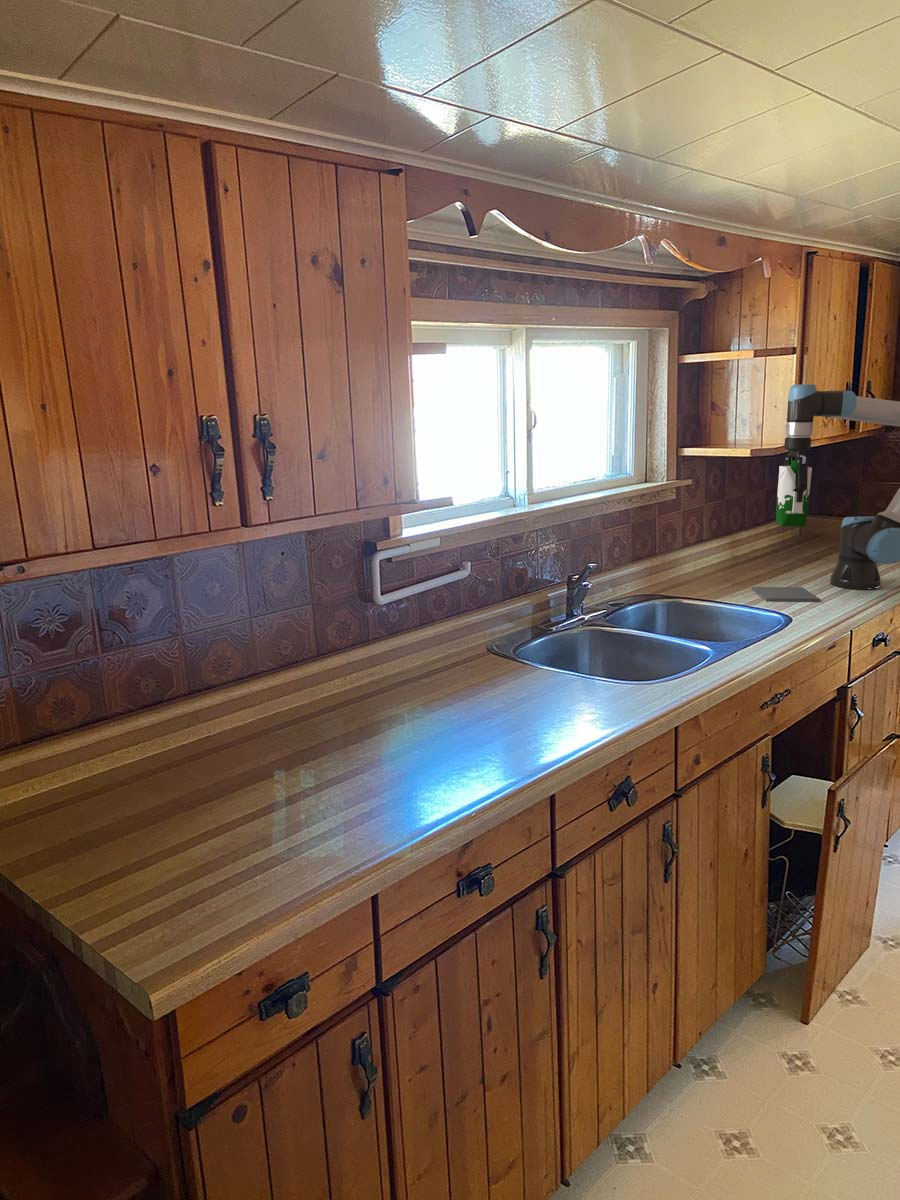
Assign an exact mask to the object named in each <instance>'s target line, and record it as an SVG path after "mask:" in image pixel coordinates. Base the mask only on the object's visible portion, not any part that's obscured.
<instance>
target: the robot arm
mask: <svg viewBox="0 0 900 1200" xmlns="http://www.w3.org/2000/svg"><path fill="white" fill-rule="evenodd" d="M786 412H787V414H786V423H785V425H784V426H783V428H784V429H785V436H787V437H785V438H784V445H783V449H784V450H785V451H789V452H788V453H785V455H784V465H783V466H791V460H792V461H798V475H797V474H796V478H795V489H794V490H793V491H794V497H793V508H792V513H802V508H803V497H804V491H805V490H807V478H808V467H809V466H808V465H809V456H806V455H805V451H809V450H811V448H812V438H811V436H812V435H813V431H814V430H813V429H814V417H821V418H832V419H840V420H847V421H854V422H861V423H862V422H863V423H868V424H869V423H870V424H876V425H877V424H878V425H883V426H884V425H885V426H894V427H900V401H899V400H898V401H897V400H891V399H890V400H889V399H880V398H873V397H865V396H857V395H856V394H855V392H854V391H852V390H844V389H843V390H818V389H817V385H816V384H815V383H814V384H811V383H810V384H809V383H808V384H806V383H805V384H792V385H791V386H790V388H789V391H788V397H787V411H786ZM839 537H840V538H839V549H838V559H837V563H836V565H835V567H834V569H833V571H832V573H831V575H830V582H829V584H830V585H832V586H833V587H834V586H835V587H838V588H842V589H843V588H844V589H849V588H850V590H862V589H868V588H875V587H878V586H880V587H881V576H880V571H879V567H878V564H883V565H892V564H896V563H898V562H900V487H899V488H898V490H897V491H896V493H895V495H894V496H893V498H892V500H891V501H890V503H889V504H888V506H887V507H886V509H885V510H884V511H881V512H878V513H877V514H876V515H875V516H846V517H844V518H843V520H842V522H841V526H840V536H839ZM868 590H869V589H868Z"/></svg>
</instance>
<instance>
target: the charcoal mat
mask: <svg viewBox="0 0 900 1200" xmlns="http://www.w3.org/2000/svg"><path fill="white" fill-rule="evenodd" d="M751 591H753V592H754V593H755V592H756V593H757V594H756V593H755V594H756V595H758V596H759V597H760V596H761V597H762V598H761V597H760V598H761V599H763V600H764V601H765V600H766V601H765V602H768V601H771V602H772V603H773V602H779V603H780V602H781V603H782V602H784V603H785V602H789V603H794V602H795V603H796V602H800V603H803V602H804V603H805V602H806V603H807V602H809V603H819V602H820V600H821V599H820V598H819V597H818V596H816V595H815V594H813V593H812V592H810V591H808V590H807V589H805V588H804V587H803V586H751ZM771 602H770V603H771Z"/></svg>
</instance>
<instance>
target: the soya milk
mask: <svg viewBox="0 0 900 1200" xmlns="http://www.w3.org/2000/svg"><path fill="white" fill-rule="evenodd" d="M778 470H779V471H778V482H777V495H776V506H775V511H776V512H775V523H776V524H777V525H779V526H781V527H806V524H807V519H808V512H809V503H810V492H811V490H810V489H811V480H812V472H813V467H811V466H808V478H807V490H805V491H804V497H803V508H802V513H792V508H793V497H794V491H793V490H794V489H795V478H796V474H797V475H798V461H792V460H791V466H784V465H779V467H778Z"/></svg>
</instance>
